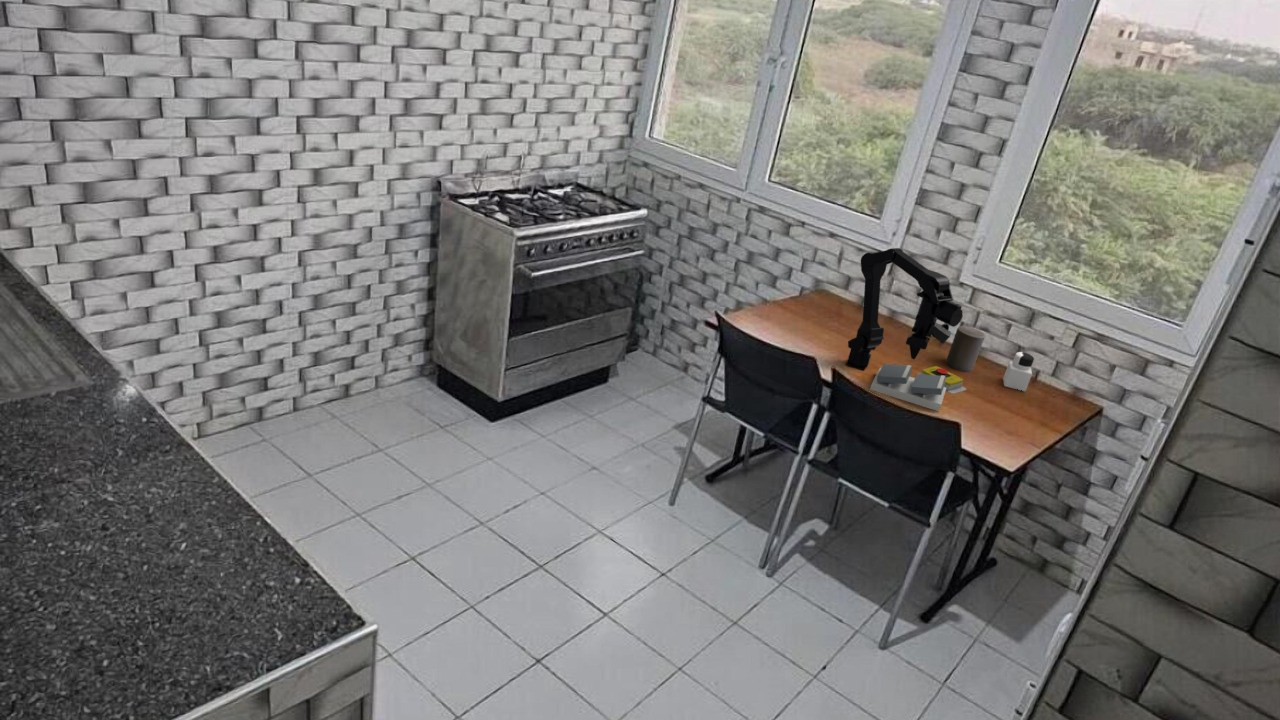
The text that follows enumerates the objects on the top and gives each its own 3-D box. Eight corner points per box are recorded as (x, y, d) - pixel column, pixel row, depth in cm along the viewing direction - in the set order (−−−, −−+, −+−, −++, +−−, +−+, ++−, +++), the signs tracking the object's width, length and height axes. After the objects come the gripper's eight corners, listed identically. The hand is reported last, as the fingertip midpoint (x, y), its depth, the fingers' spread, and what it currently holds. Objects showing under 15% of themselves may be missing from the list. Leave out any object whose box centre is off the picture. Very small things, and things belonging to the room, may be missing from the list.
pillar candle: (943, 366, 301) (957, 328, 294) (947, 357, 309) (960, 320, 302) (971, 374, 297) (985, 336, 291) (974, 365, 306) (988, 328, 299)
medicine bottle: (1023, 384, 296) (1035, 353, 292) (1025, 392, 290) (1037, 360, 285) (1002, 378, 298) (1014, 348, 293) (1003, 386, 292) (1015, 355, 287)
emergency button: (933, 360, 293) (971, 379, 283) (930, 371, 295) (967, 390, 285) (918, 364, 287) (956, 383, 277) (914, 376, 289) (952, 395, 279)
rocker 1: (877, 381, 271) (877, 375, 270) (883, 369, 281) (883, 363, 280) (906, 383, 267) (906, 377, 266) (911, 371, 277) (911, 365, 276)
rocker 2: (911, 392, 267) (911, 386, 266) (916, 379, 277) (916, 373, 276) (941, 394, 263) (941, 388, 262) (945, 381, 273) (945, 375, 273)
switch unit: (870, 389, 272) (873, 379, 270) (878, 374, 285) (881, 364, 283) (938, 411, 265) (942, 400, 263) (944, 394, 277) (947, 384, 276)
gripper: (950, 330, 252) (934, 376, 259) (956, 313, 268) (941, 357, 275) (913, 319, 256) (898, 365, 262) (921, 303, 272) (907, 347, 278)
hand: (913, 358), depth 269 cm, fingers closed
